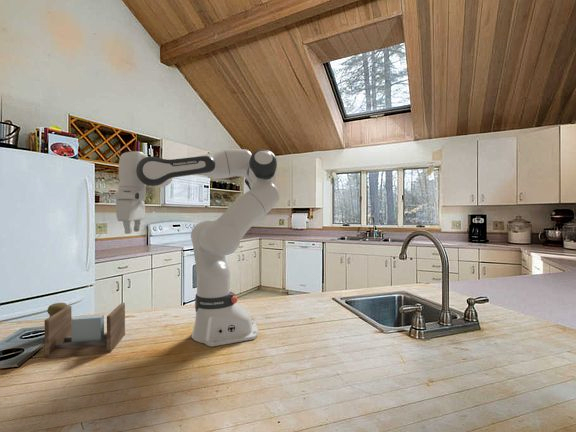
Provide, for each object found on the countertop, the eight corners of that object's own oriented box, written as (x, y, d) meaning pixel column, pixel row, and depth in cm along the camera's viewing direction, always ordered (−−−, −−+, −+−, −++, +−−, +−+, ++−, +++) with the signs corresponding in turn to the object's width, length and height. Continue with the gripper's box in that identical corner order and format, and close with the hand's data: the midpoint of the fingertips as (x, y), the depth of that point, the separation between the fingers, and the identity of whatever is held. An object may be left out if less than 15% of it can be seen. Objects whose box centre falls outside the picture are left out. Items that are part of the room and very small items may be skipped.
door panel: (104, 339, 90) (104, 314, 90) (100, 343, 88) (100, 317, 88) (75, 341, 89) (75, 316, 88) (71, 345, 86) (71, 319, 86)
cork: (56, 341, 91) (55, 307, 90) (41, 339, 92) (40, 306, 92) (73, 333, 97) (73, 301, 96) (59, 331, 98) (59, 300, 98)
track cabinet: (125, 334, 96) (124, 302, 96) (110, 352, 84) (110, 316, 84) (68, 338, 92) (67, 305, 92) (44, 358, 81) (44, 320, 80)
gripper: (132, 196, 114) (132, 230, 114) (112, 193, 94) (112, 235, 94) (149, 196, 115) (149, 230, 115) (132, 194, 95) (132, 235, 95)
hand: (132, 232), depth 105 cm, fingers open, 8 cm apart
